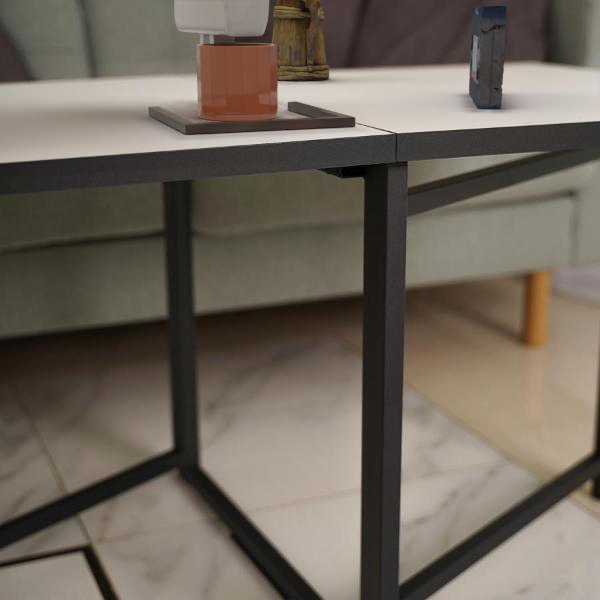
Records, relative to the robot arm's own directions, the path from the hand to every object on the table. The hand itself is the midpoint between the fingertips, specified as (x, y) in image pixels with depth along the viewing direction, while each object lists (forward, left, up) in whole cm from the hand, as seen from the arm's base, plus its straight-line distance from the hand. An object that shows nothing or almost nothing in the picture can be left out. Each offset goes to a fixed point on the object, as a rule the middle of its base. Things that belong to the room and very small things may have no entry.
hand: (218, 82), depth 90 cm
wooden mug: (+22, +34, -3) cm, 40 cm away
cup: (0, -6, -3) cm, 7 cm away
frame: (0, -9, -3) cm, 10 cm away
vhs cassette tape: (+30, 0, -3) cm, 30 cm away
